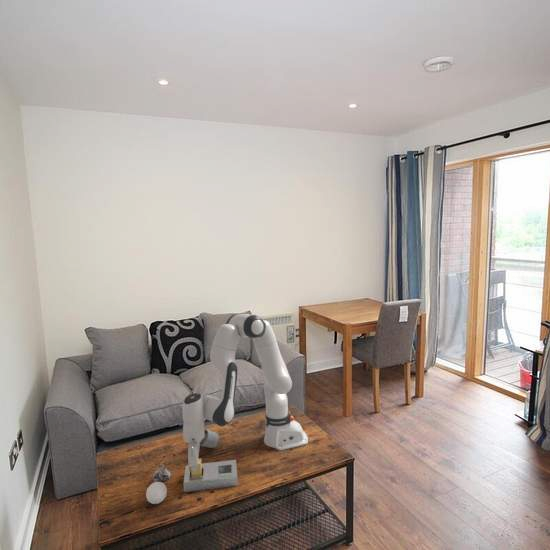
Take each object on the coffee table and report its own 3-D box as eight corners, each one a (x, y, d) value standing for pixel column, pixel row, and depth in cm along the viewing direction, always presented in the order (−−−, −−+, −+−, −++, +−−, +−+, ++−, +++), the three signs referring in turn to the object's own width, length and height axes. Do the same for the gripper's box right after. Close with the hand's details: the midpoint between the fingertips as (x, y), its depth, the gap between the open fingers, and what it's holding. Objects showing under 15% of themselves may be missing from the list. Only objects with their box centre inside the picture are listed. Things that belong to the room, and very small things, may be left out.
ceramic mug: (213, 452, 185) (222, 441, 184) (199, 449, 181) (209, 437, 179) (208, 435, 194) (217, 424, 193) (195, 431, 189) (204, 420, 188)
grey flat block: (236, 468, 169) (236, 459, 169) (237, 485, 158) (237, 476, 157) (186, 473, 166) (185, 465, 166) (183, 492, 154) (183, 482, 154)
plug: (202, 477, 163) (201, 458, 162) (201, 483, 159) (200, 463, 158) (190, 479, 162) (189, 459, 162) (189, 485, 159) (188, 465, 158)
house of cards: (145, 489, 157) (144, 472, 156) (150, 476, 166) (149, 460, 165) (167, 488, 157) (166, 471, 157) (171, 475, 166) (170, 458, 165)
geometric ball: (168, 505, 147) (167, 486, 146) (147, 511, 144) (146, 492, 143) (166, 493, 154) (165, 474, 153) (145, 499, 151) (144, 480, 150)
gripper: (200, 446, 149) (201, 478, 150) (202, 421, 169) (203, 450, 170) (183, 447, 148) (185, 480, 149) (188, 422, 168) (189, 451, 170)
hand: (195, 464), depth 160 cm, fingers open, 8 cm apart
